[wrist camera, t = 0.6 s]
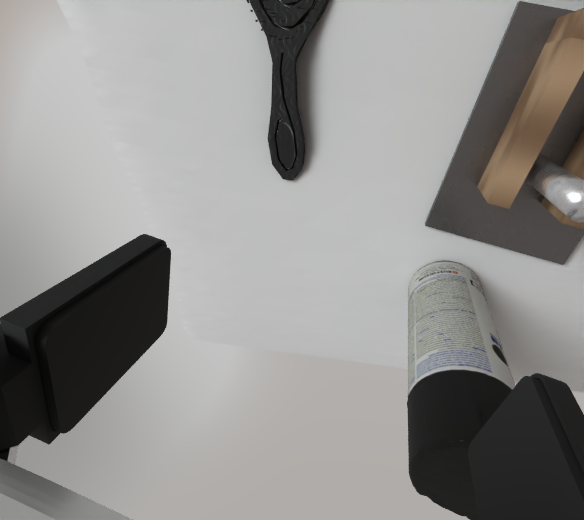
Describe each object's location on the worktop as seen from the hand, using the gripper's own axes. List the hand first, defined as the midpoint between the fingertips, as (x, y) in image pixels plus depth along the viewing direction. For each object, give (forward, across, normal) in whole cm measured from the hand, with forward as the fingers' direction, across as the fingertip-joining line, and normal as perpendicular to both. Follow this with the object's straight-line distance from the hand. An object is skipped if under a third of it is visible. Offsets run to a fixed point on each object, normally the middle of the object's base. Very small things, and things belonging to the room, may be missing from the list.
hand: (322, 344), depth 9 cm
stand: (+26, -12, -4) cm, 29 cm away
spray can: (+26, -10, +10) cm, 30 cm away
